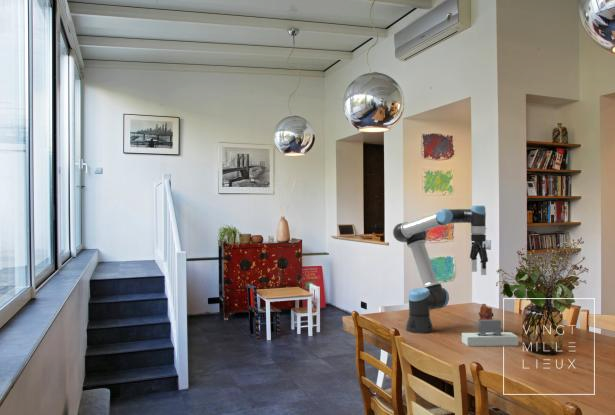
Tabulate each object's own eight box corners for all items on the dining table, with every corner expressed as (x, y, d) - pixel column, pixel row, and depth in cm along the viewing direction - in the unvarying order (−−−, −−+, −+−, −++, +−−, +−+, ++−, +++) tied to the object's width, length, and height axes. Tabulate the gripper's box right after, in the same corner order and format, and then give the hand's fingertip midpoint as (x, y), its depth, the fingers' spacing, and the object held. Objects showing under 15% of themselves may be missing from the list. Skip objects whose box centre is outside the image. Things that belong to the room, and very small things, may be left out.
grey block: (480, 344, 255) (480, 321, 255) (478, 342, 259) (478, 319, 259) (501, 344, 256) (500, 320, 256) (498, 342, 259) (498, 319, 259)
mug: (495, 335, 273) (495, 308, 273) (479, 334, 275) (479, 307, 275) (490, 329, 288) (490, 303, 288) (476, 328, 289) (475, 302, 289)
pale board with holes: (467, 346, 252) (467, 337, 252) (461, 341, 261) (461, 332, 261) (518, 345, 253) (518, 336, 253) (510, 340, 262) (510, 332, 262)
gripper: (494, 235, 257) (494, 276, 257) (476, 232, 282) (477, 270, 282) (480, 235, 257) (480, 276, 257) (463, 232, 282) (464, 270, 282)
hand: (478, 273), depth 269 cm, fingers open, 13 cm apart
